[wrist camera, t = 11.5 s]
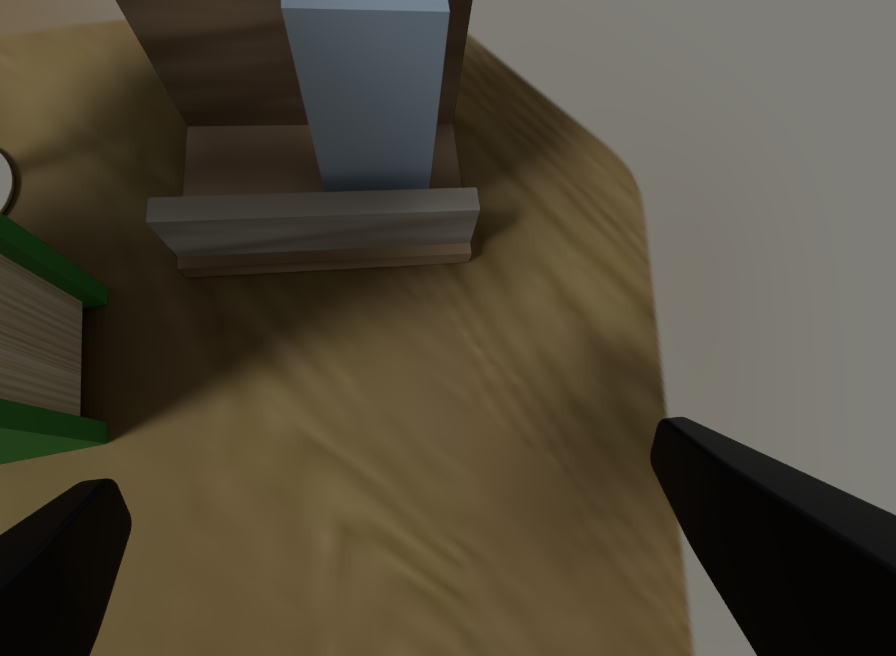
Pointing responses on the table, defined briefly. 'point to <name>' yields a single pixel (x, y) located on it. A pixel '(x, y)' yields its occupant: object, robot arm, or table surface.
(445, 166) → the wooden display stand
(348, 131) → the blue-grey rectangular block
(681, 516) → the robot arm
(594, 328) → the table surface
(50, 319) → the hardback book
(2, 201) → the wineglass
